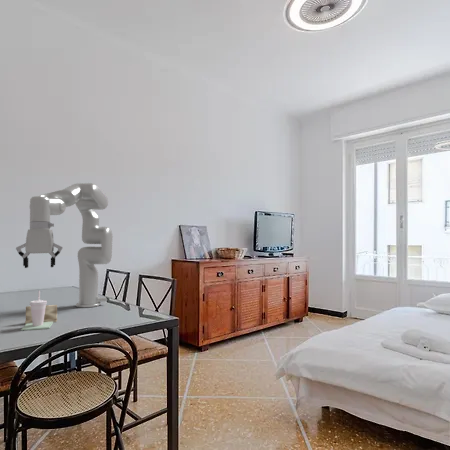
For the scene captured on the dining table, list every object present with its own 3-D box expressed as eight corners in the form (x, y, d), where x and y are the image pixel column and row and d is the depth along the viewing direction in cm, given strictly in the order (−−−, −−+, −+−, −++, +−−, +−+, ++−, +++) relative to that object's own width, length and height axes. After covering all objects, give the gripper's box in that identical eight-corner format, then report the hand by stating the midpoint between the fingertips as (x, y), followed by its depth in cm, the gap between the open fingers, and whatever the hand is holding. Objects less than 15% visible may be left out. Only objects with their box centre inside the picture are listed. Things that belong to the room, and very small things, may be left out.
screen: (57, 320, 157) (57, 304, 157) (56, 321, 154) (56, 305, 154) (26, 322, 153) (27, 306, 153) (25, 324, 150) (25, 307, 150)
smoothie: (49, 323, 149) (50, 289, 150) (41, 327, 143) (42, 292, 143) (34, 323, 149) (34, 289, 150) (25, 327, 143) (26, 292, 143)
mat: (53, 322, 152) (53, 321, 152) (49, 328, 143) (49, 327, 143) (26, 324, 149) (27, 323, 149) (21, 330, 140) (21, 329, 140)
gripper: (63, 226, 154) (63, 266, 153) (18, 226, 149) (18, 267, 148) (61, 226, 147) (60, 267, 146) (14, 225, 142) (13, 268, 141)
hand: (39, 267), depth 147 cm, fingers open, 9 cm apart
